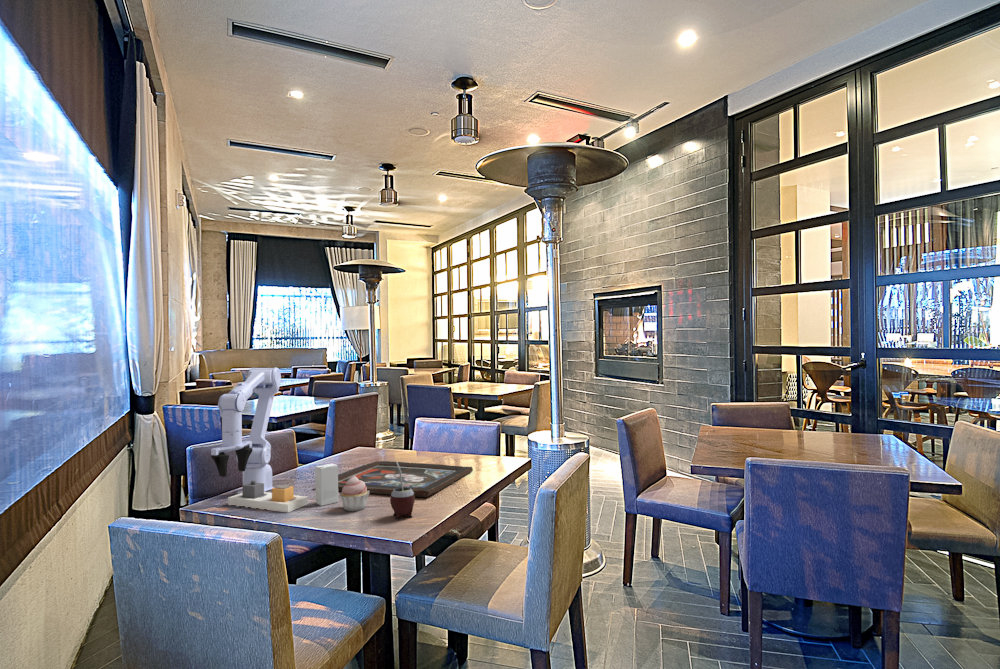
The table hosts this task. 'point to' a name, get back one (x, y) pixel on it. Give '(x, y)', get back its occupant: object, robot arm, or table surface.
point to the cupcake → (354, 495)
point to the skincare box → (326, 484)
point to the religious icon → (404, 477)
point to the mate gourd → (402, 500)
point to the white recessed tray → (268, 502)
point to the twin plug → (253, 490)
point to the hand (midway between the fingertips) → (232, 473)
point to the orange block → (282, 493)
